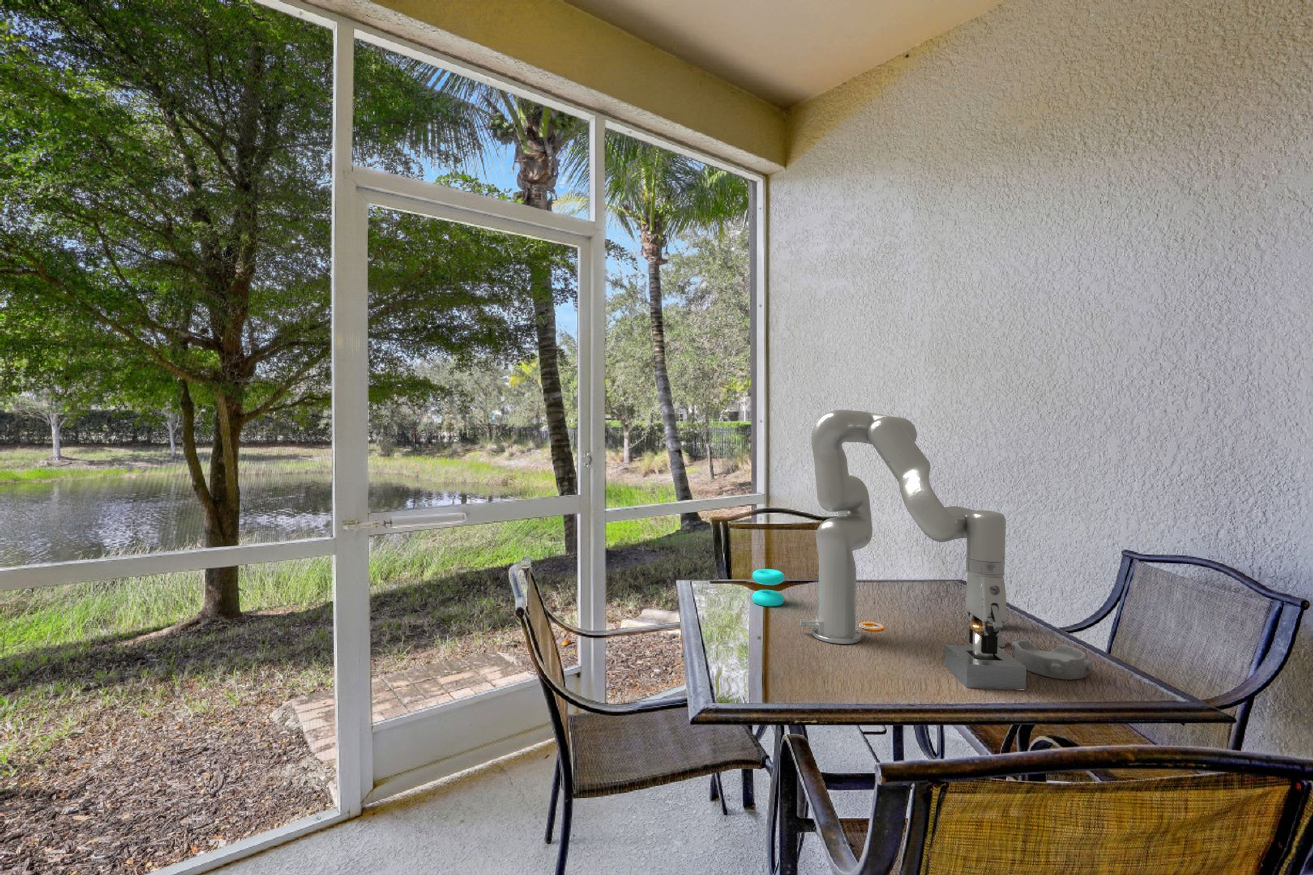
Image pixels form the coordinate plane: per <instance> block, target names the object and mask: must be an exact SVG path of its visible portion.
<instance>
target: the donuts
mask: <svg viewBox="0 0 1313 875" xmlns="http://www.w3.org/2000/svg"><path fill="white" fill-rule="evenodd" d="M751 577H752V579H753V580H754V582H756V583H758V584H761V585H767V586H775V585H779V584H781V583H783V582H784V581H785V574H784V572H782V571H781V570H778V569H772V568H771V569H770V568H762V569H760V568H759V569H757V570H754V571H753V572H752V576H751ZM751 599H752V602H753V603H754V604H756V605H758V606H763V607H779V606H781V605H783V604H784V602H785V597H784V595H783V594H782V593H781V592H779V591H777V590H773V589H758V590H757V591H755V592H754V593H753V594H752V596H751Z"/></svg>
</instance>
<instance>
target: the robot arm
mask: <svg viewBox="0 0 1313 875" xmlns="http://www.w3.org/2000/svg"><path fill="white" fill-rule="evenodd" d="M810 437H811V438H810V439H811V440H810V441H811V448H812V455H813V462H814V472H815V473H814V474H815V484H816V485H815V486H816V495H817V501H818V503H819V504H818V505H819V506H820V507H821V508H822V509H823V510H825V511H826V512H832V513H833V512H834V513H836V512H837V514H838V516H835V517H834V516H833V517H830V518H827V519H825V520H824V521H822V522H821V523H820V524H819V526H818V527H817V530H816V533H815V541H816V547H817V549H816V550H817V557H818V599H817V600H818V603H817V604H818V605H817V606H818V609H817V610H818V611H817V614H815V616H814V617H815V618H811V619H807V618H806V619H805V618H799V627H805V628H806V629H809V630H810V629H811V635H812V636H813V637H814V638H816V639H817V640H820V641H822V642H825V643H829V644H837V645H849V644H850V645H851V644H855V643H859V642H860V641H861V640H862V633H861V632H860V631H859V630H857V629H856V621H857V620H856V617H857V616H856V614H857V613H856V612H857V610H856V609H857V564H856V560H855V558H854V554H853V553H854V552H853V551H857V550H861V549H863V548H865V547H867V546H868V545H869V543H870V542H871V540H872V537H873V521H872V511H871V502H870V495H869V491H868V488H867V486H866V484H865V482H864V481H863V480H862V479H860V478H859V477H858V476H855V475H850V474H849V468H848V466H849V465H848V459H847V456H846V453H845V450H844V448H843V444H845V443H862V444H868V445H872V446H873V448H874V449H875V451H876V452H877V454H878V455H879V457H881V459H882V460H883V462H884V464H885V465H886V467H888V469H889V470H890V472H891V473H892V475H893V476H894V478H895V480H896V481H897V482H898V487H899V491H900V493H901V494H900V495H901V498H902V501H903V503H904V506H905V508H906V511H907V512H908V513H909V514H910V516H911V518H912V519H913V521H914V522H915V524H917V526H918V527H919V529H920V531H922V533H923V534H924V535H925V536H927V538H928V539H930V540H932V541H935V542H939V543H946V542H950V541H954V540H959V539H966V554H965V556H966V557H965V558H966V560H965V561H966V562H965V572H966V573H967V577H966V589H965V609H966V611H967V612H968V616H969V619H968V624H969V628H968V629H969V631H968V634H969V635H968V637H969V638H968V641H969V644H970V645H973V630H971V629H970V621H975V620H977V621H982V626H983V634H984V635H983V634H981V652H982V653H983V654H997V645H998V636H999V631H1001V629H1003V626H1004V625H1003V624H1004V623H1006V621H1007V594H1006V593H1007V592H1006V591H1007V590H1006V584H1005V578H1004V577H1005V572H1006V571H1005V568H1006V567H1005V566H1006V565H1005V564H1006V563H1005V562H1006V561H1005V560H1006V558H1005V557H1006V537H1007V536H1006V532H1007V530H1006V529H1007V526H1006V525H1007V519H1006V516H1005V515H1004V514H1003V513H1001V512H999V511H990V510H975V509H972V508H966V507H962V506H958V505H957V506H956V505H954V506H953V505H952V506H945V505H944V504H943V503H942V502H941V501H940V499H939V498H938V496H937V495H936V493H935V492H934V489H933V488H932V484H931V482H930V471H931V463H930V461H929V459H928V458H927V456H926V455H925V454H924V453H923V451H922V450H921V449H920V447H919V446H918V445H917V443H916V441H917V437H918V432H917V429H916V426H915V425H914V424H913V422H911V420H909V419H907V418H906V417H905V418H904V417H901V416H892V415H885V414H879V413H874V412H869V411H868V412H867V411H861V410H853V409H852V410H851V409H850V410H849V409H836V410H831V411H829V412H827V413H825V414H823V415H822V416H821V417H819V419H818V420H817V421H816V422H815V424H814V425H813V428H812V431H811V436H810ZM987 618H992V620H993V621H987V620H988V619H987ZM987 624H992V626H989V628H988V627H987Z"/></svg>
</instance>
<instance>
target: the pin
mask: <svg viewBox="0 0 1313 875" xmlns="http://www.w3.org/2000/svg"><path fill="white" fill-rule="evenodd" d="M989 626H992V624H987V627H988V628H989ZM969 627H970V629H971V630H973V644H972V646H973V654H972V656H973V657H974V658H975V659H976V660H993V654H983V653H982V652H981V634H983V626H982V621H977V620H975V621H970V625H969ZM983 635H984V634H983Z"/></svg>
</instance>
